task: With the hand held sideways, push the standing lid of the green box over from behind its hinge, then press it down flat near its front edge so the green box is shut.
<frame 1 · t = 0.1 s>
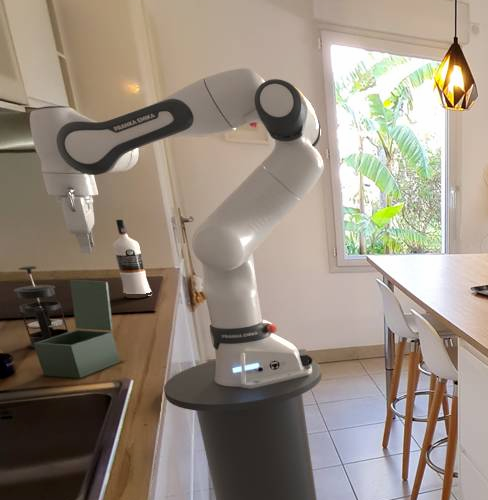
hand: (88, 250, 127), 33 cm above the worktop, tool pointing down, fingers open, 8 cm apart
french press: (52, 344, 163), on the worktop
green box: (83, 368, 146), on the worktop
lid: (91, 305, 147), point 16 cm above the worktop, hinge at 100.0°
vodka: (138, 297, 220), on the worktop
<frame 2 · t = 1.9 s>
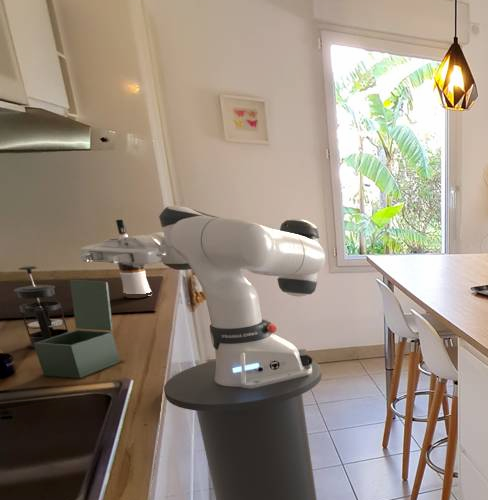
hand: (97, 259, 148), 27 cm above the worktop, tool horizontal, fingers open, 7 cm apart
nothing on the worktop moved.
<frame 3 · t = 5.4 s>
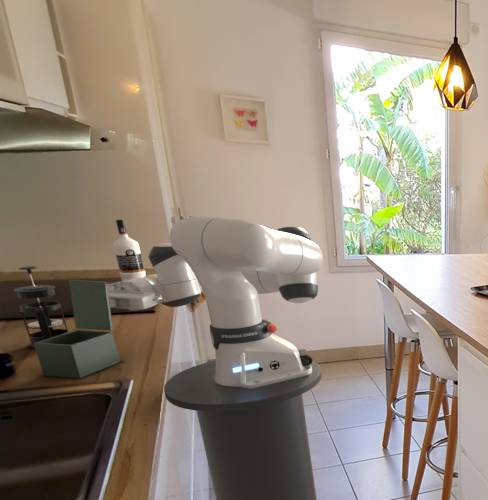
hand: (92, 305, 148), 15 cm above the worktop, tool horizontal, fingers closed, pressing on lid
lid: (91, 305, 147), point 16 cm above the worktop, hinge at 98.4°, touching gripper
everything else where it was.
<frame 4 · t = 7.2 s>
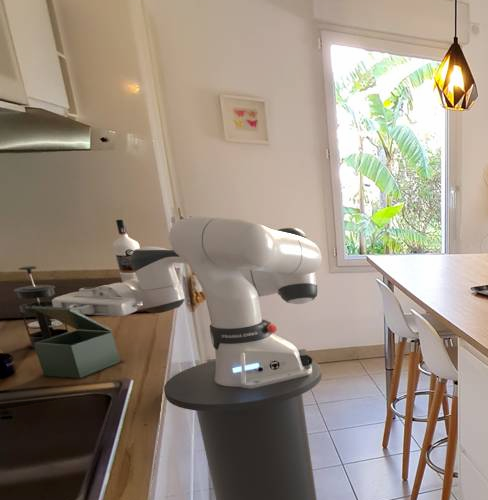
hand: (68, 312, 141), 15 cm above the worktop, tool horizontal, fingers closed
lid: (73, 319, 142), point 13 cm above the worktop, hinge at 39.9°, touching gripper
everything else where it was.
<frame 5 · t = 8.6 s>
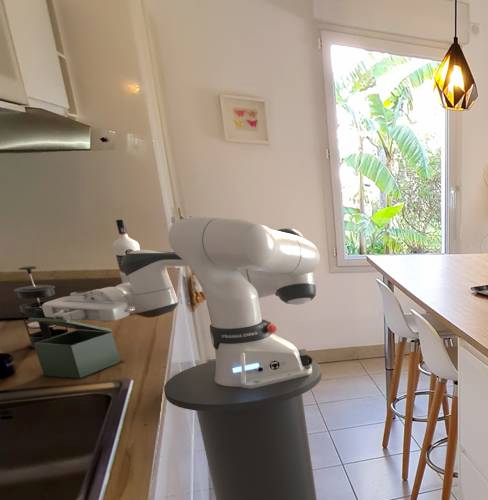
hand: (59, 317, 139), 15 cm above the worktop, tool horizontal, fingers closed
lid: (71, 324, 142), point 12 cm above the worktop, hinge at 26.3°
everything else where it was.
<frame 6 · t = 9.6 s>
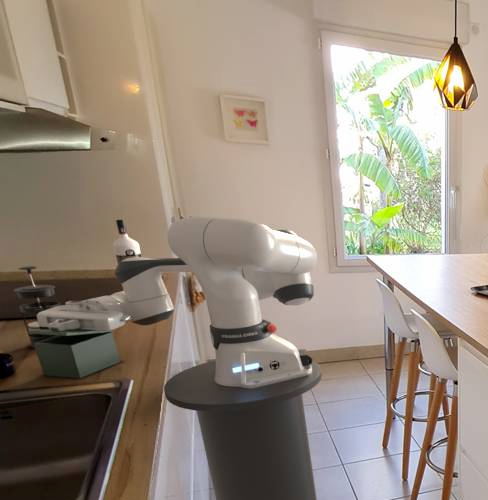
hand: (53, 327, 137), 13 cm above the worktop, tool horizontal, fingers closed, pressing on lid
lid: (71, 331, 142), point 10 cm above the worktop, hinge at 11.7°, touching gripper
everything else where it was.
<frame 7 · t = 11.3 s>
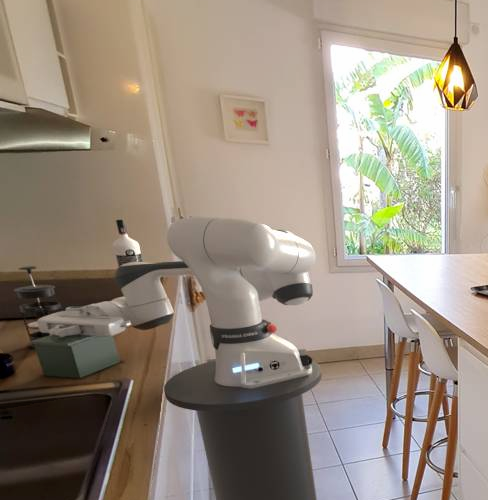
hand: (54, 333, 138), 11 cm above the worktop, tool horizontal, fingers closed
lid: (72, 336, 143), point 9 cm above the worktop, hinge at -0.2°, touching green box
everything else where it was.
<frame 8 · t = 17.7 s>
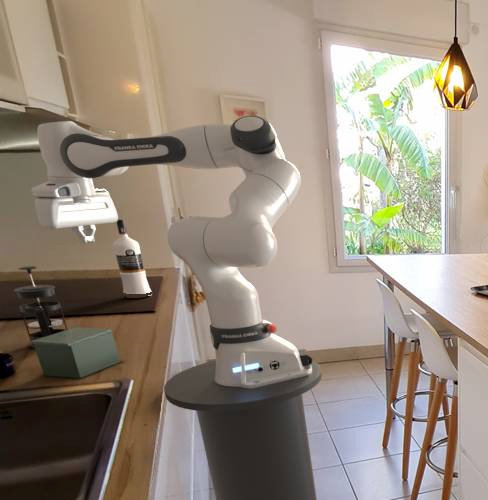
hand: (87, 242, 148), 31 cm above the worktop, tool pointing down, fingers closed
nothing on the worktop moved.
at the end: lid at +0° (first picture: +100°); french press moved 0.2 cm from its start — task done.
